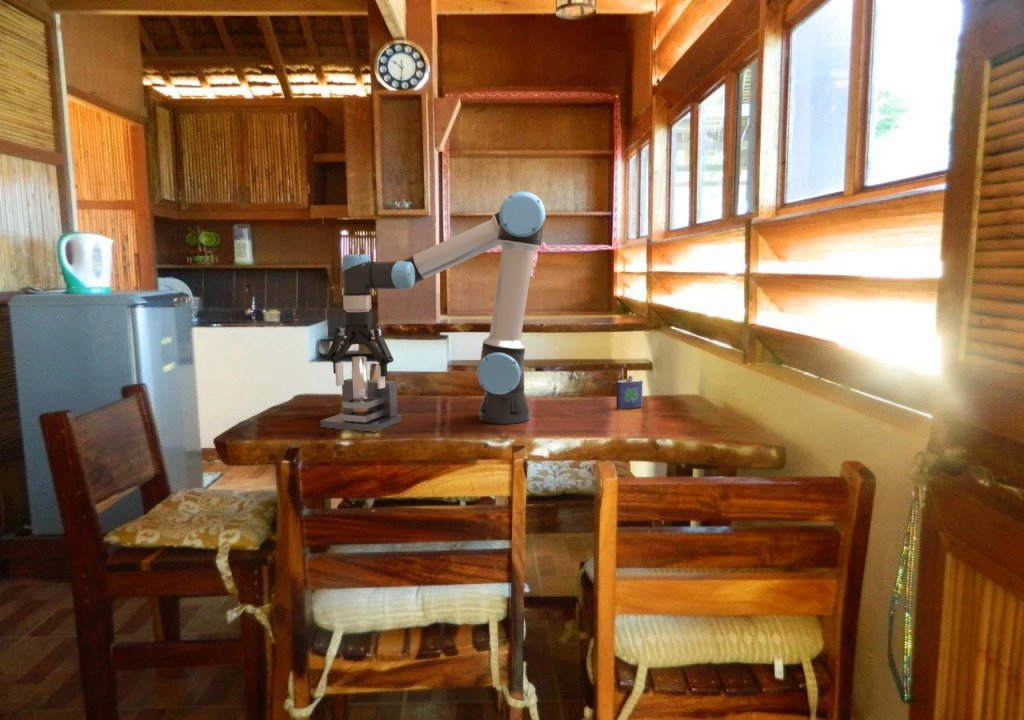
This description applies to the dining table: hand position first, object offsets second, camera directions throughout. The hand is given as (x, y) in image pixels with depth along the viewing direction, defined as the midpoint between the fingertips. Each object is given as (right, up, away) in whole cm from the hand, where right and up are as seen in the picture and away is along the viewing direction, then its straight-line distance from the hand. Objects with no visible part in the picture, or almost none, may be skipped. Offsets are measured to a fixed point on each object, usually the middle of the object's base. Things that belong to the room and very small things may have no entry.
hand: (360, 386), depth 191 cm
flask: (+80, -8, +26) cm, 84 cm away
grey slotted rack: (-1, -11, +5) cm, 12 cm away
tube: (0, -10, +1) cm, 10 cm away
